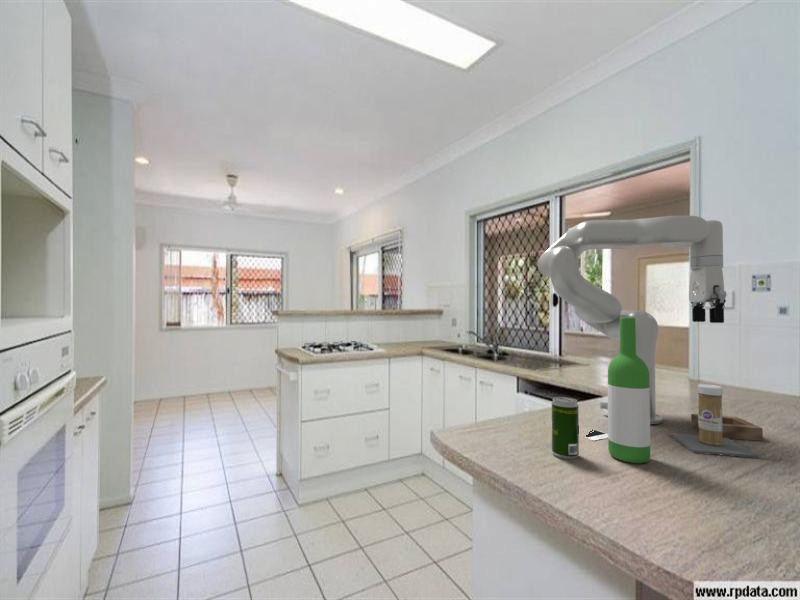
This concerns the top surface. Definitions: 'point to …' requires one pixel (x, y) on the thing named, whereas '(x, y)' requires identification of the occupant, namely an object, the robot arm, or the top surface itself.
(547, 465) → the top surface
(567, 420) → the beer can
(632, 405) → the wine bottle
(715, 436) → the sprinkles bottle
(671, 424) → the top surface
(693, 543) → the top surface
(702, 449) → the charcoal mat
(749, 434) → the walnut caddy
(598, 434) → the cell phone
